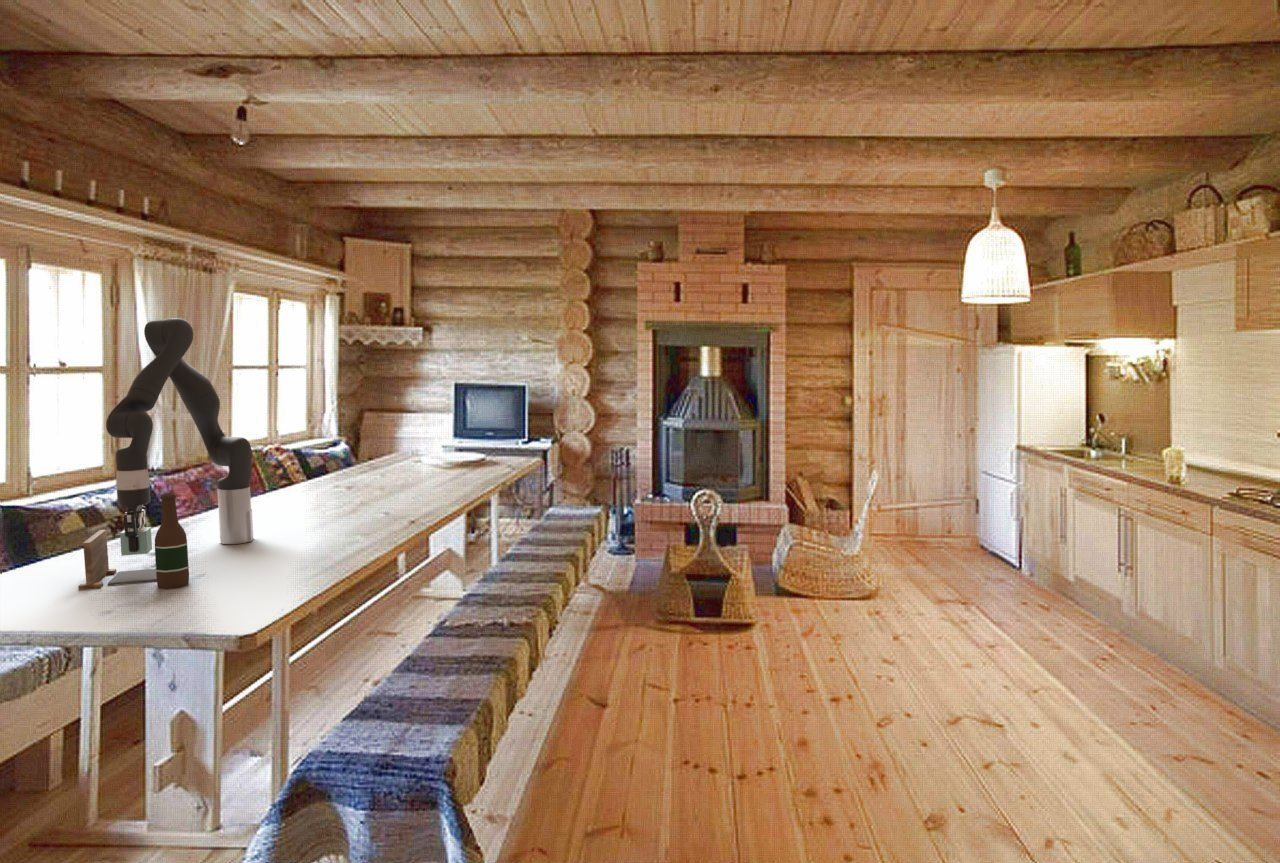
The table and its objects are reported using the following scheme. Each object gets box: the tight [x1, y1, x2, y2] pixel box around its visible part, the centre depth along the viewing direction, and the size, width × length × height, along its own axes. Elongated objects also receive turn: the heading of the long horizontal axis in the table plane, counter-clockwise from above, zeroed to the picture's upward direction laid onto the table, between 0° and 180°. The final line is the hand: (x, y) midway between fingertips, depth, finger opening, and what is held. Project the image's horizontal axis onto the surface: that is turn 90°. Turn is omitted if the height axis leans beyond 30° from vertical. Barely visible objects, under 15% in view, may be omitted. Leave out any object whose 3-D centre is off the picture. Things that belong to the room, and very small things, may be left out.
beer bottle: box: [154, 492, 190, 590], centre depth 215 cm, size 8×8×24 cm
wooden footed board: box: [77, 529, 117, 591], centre depth 220 cm, size 5×16×12 cm, turn 20°
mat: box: [107, 568, 157, 586], centre depth 224 cm, size 12×12×1 cm
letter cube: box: [119, 526, 153, 557], centre depth 223 cm, size 6×6×6 cm
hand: (136, 548), depth 223 cm, fingers closed on letter cube, 6 cm apart
